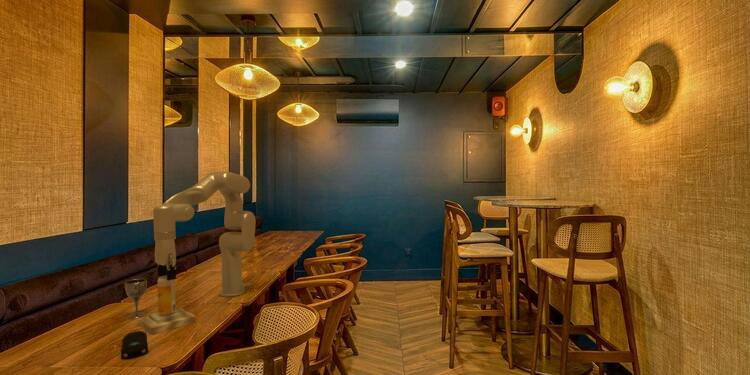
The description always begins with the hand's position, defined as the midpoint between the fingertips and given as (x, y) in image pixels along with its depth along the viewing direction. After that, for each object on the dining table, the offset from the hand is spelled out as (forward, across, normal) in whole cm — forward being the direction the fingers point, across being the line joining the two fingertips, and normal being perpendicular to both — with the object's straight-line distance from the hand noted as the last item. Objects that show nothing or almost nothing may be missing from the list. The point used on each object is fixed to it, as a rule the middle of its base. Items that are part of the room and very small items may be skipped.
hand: (167, 277), depth 147 cm
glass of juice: (+15, 0, -1) cm, 15 cm away
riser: (+19, 0, -1) cm, 19 cm away
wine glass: (+19, -21, -6) cm, 29 cm away
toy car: (+19, +17, -17) cm, 30 cm away
